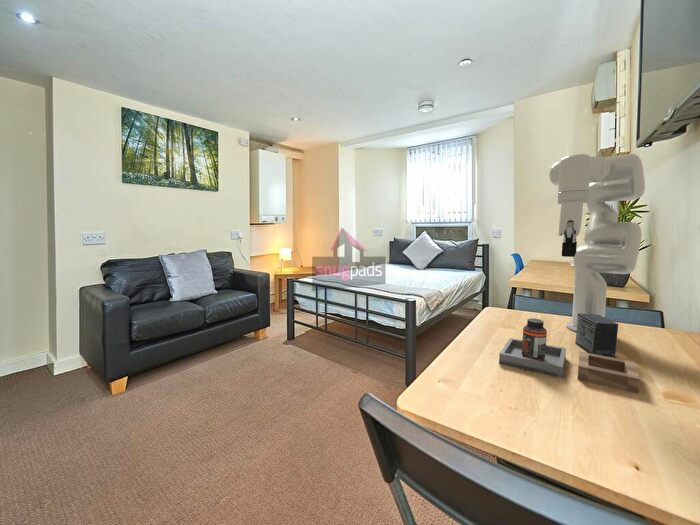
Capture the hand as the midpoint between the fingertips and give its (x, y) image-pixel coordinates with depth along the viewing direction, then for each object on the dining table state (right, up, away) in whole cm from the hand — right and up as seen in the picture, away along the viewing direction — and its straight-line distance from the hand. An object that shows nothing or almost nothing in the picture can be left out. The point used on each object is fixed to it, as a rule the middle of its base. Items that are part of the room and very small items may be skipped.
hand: (569, 255), depth 93 cm
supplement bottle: (-13, -30, -4) cm, 33 cm away
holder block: (0, -32, -14) cm, 35 cm away
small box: (+11, -30, +3) cm, 32 cm away
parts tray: (-13, -31, -3) cm, 34 cm away
